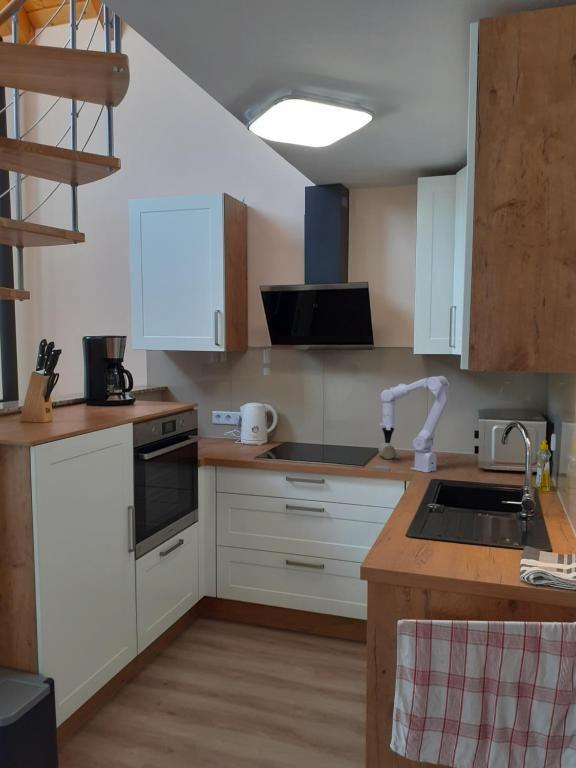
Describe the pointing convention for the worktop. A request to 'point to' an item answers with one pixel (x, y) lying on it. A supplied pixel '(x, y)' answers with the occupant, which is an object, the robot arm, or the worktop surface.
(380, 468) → the tile
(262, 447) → the worktop surface
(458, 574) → the worktop surface
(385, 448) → the ceramic mug
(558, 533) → the worktop surface
